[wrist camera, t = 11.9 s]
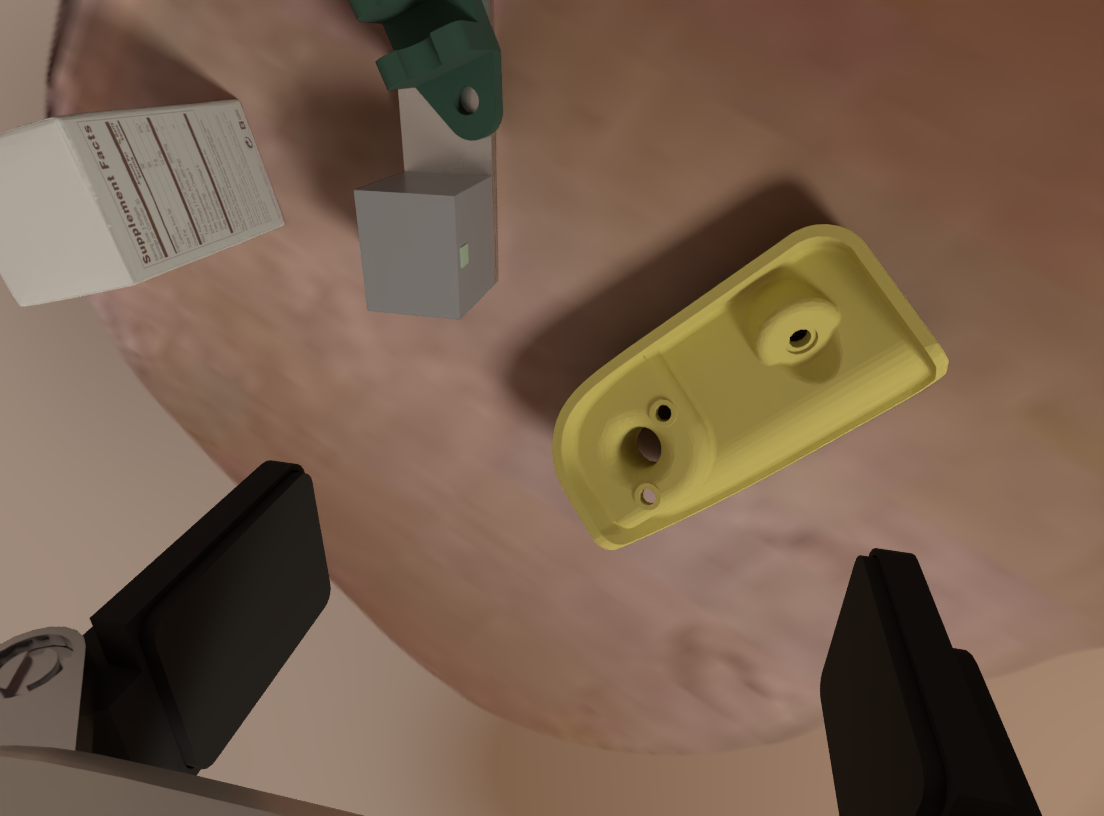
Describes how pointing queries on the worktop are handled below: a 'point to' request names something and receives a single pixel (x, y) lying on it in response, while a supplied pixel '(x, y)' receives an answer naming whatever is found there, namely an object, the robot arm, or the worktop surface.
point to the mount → (442, 57)
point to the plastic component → (742, 385)
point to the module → (426, 243)
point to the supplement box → (126, 196)
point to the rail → (447, 142)
